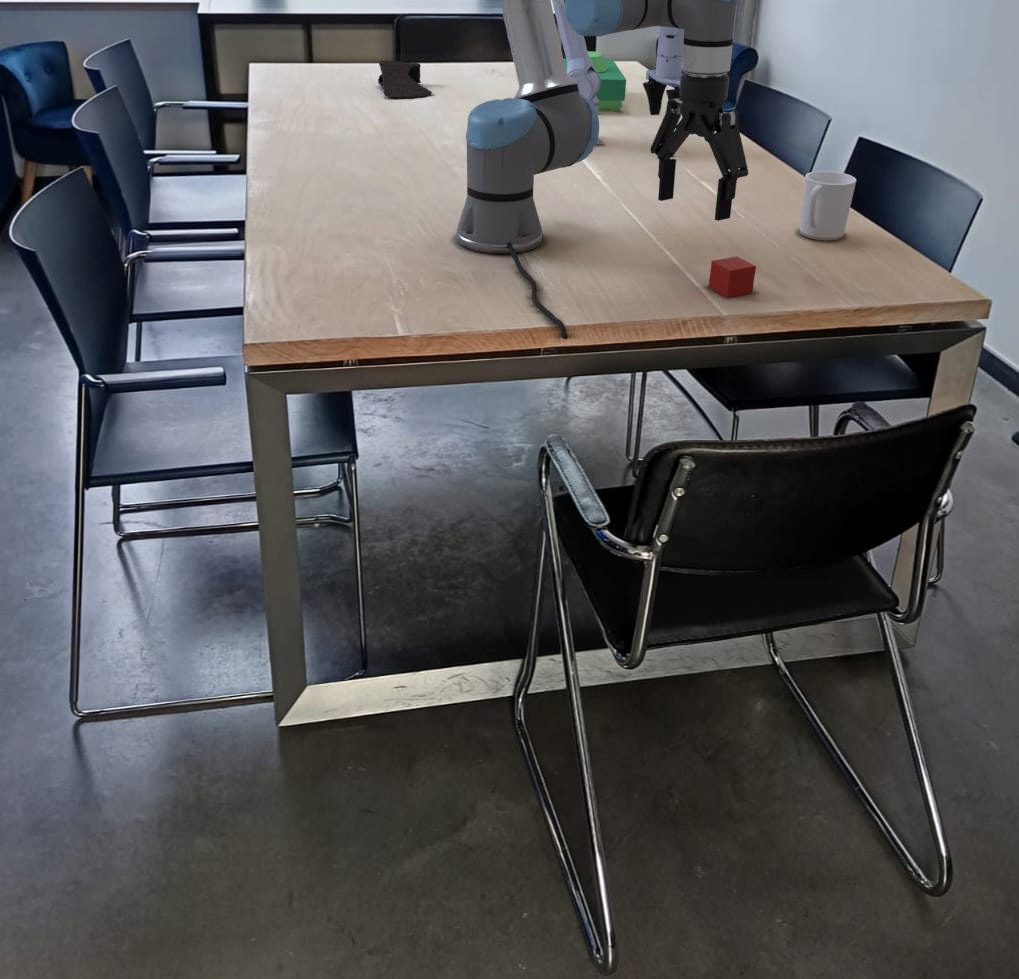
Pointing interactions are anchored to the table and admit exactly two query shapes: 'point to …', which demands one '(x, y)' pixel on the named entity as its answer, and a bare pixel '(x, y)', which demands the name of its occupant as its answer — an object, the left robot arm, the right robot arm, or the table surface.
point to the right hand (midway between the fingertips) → (664, 118)
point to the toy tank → (607, 82)
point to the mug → (826, 204)
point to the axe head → (401, 79)
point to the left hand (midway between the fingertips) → (693, 209)
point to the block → (732, 276)
